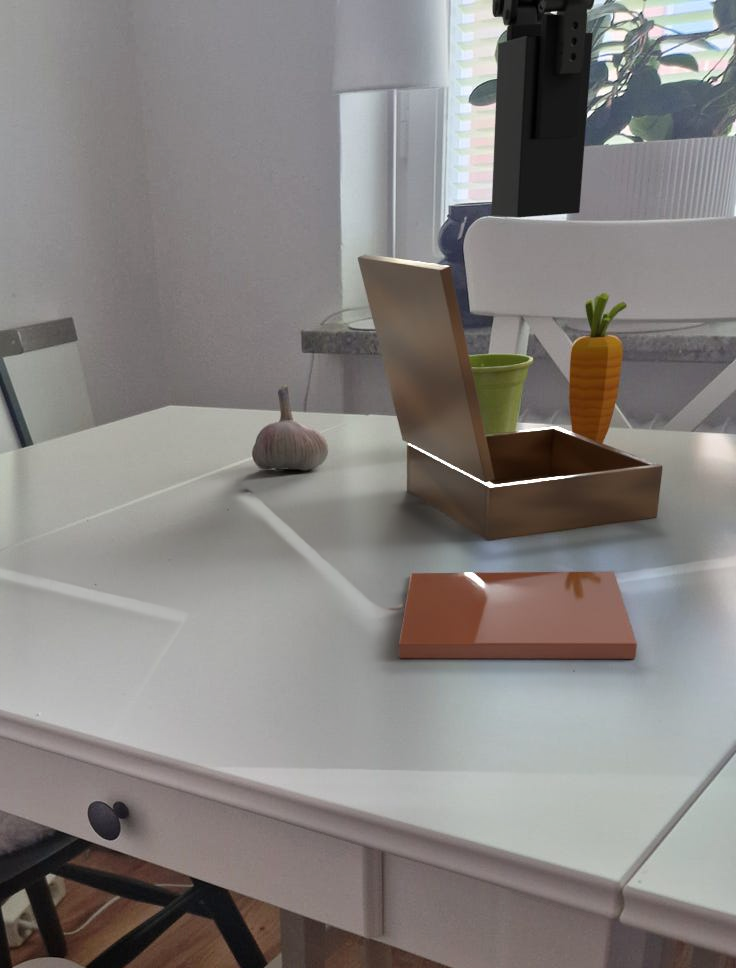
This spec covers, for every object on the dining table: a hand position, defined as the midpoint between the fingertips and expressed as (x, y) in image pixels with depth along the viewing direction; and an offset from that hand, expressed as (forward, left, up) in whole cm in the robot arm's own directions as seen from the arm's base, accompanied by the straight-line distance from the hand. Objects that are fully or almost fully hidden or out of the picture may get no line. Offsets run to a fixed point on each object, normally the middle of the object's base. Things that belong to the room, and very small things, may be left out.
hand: (539, 138), depth 78 cm
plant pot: (+3, -33, -27) cm, 43 cm away
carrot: (-7, -26, -27) cm, 38 cm away
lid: (+7, -5, -14) cm, 17 cm away
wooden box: (-1, -9, -27) cm, 28 cm away
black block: (0, 0, -4) cm, 4 cm away
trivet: (+1, +18, -27) cm, 33 cm away
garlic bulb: (+22, -27, -27) cm, 44 cm away
